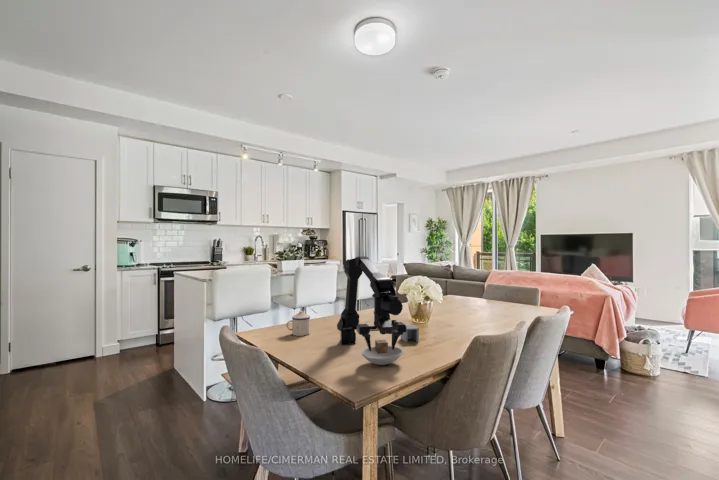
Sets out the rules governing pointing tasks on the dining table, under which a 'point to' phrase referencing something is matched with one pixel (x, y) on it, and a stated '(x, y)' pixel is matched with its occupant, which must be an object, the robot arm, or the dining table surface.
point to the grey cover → (411, 333)
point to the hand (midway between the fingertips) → (381, 350)
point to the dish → (382, 355)
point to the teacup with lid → (300, 324)
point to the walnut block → (381, 346)
